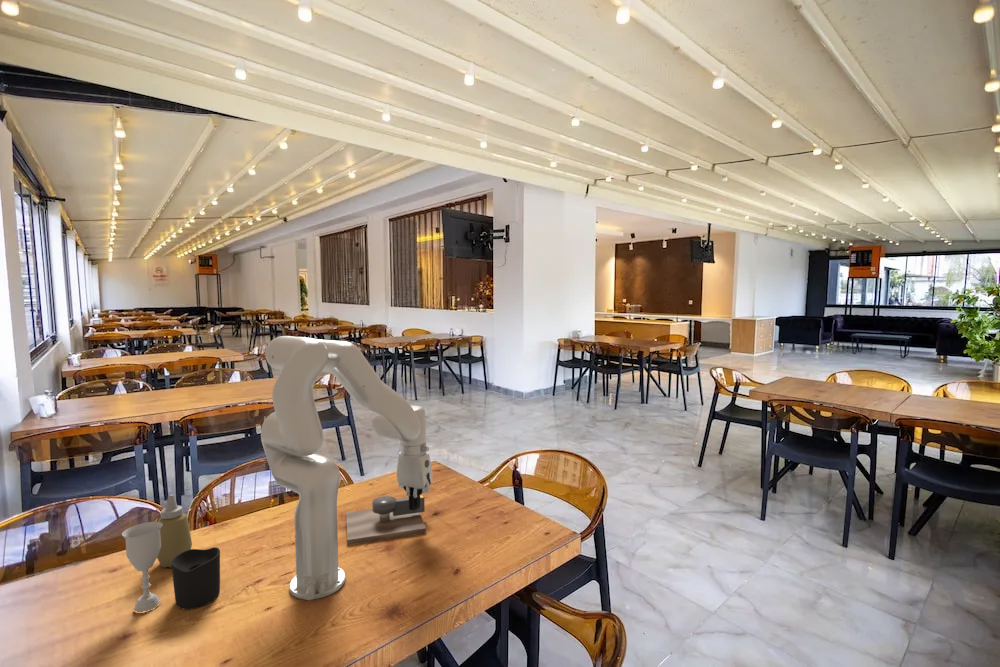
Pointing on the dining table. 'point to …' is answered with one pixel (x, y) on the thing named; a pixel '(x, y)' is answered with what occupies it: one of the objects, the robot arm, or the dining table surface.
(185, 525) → the squeeze bottle
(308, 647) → the dining table surface
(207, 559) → the pen holder
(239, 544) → the dining table surface
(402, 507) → the grey knob lever
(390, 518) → the board
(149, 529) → the chalice
